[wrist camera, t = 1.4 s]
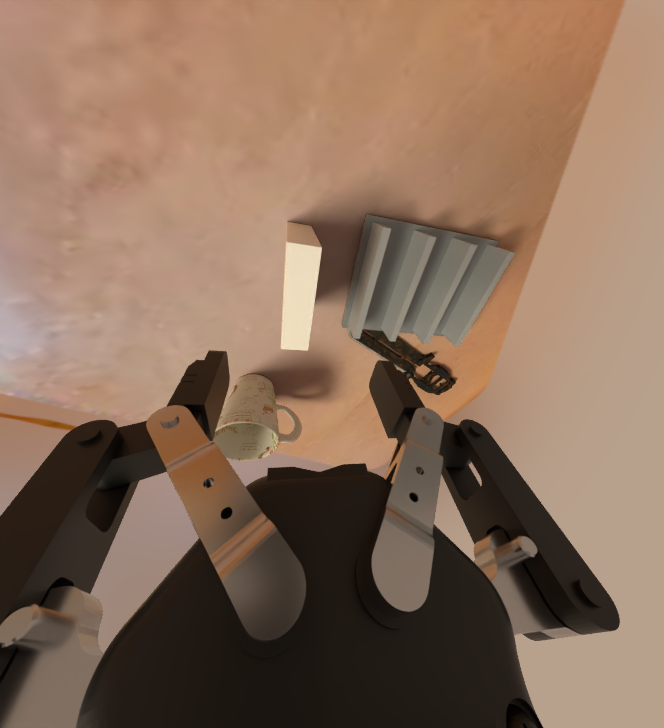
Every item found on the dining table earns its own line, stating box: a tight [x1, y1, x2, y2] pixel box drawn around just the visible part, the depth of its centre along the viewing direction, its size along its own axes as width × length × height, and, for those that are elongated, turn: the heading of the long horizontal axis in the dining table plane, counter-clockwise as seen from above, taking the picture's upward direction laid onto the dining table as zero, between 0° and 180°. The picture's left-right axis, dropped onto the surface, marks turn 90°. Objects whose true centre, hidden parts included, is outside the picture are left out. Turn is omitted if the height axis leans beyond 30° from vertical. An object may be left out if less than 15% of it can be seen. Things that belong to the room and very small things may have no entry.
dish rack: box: [342, 214, 515, 346], centre depth 28 cm, size 16×13×4 cm
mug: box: [210, 374, 302, 461], centre depth 34 cm, size 8×13×10 cm, turn 57°
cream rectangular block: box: [281, 222, 322, 351], centre depth 23 cm, size 2×9×10 cm, turn 170°
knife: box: [347, 328, 456, 395], centre depth 37 cm, size 25×6×1 cm, turn 46°
